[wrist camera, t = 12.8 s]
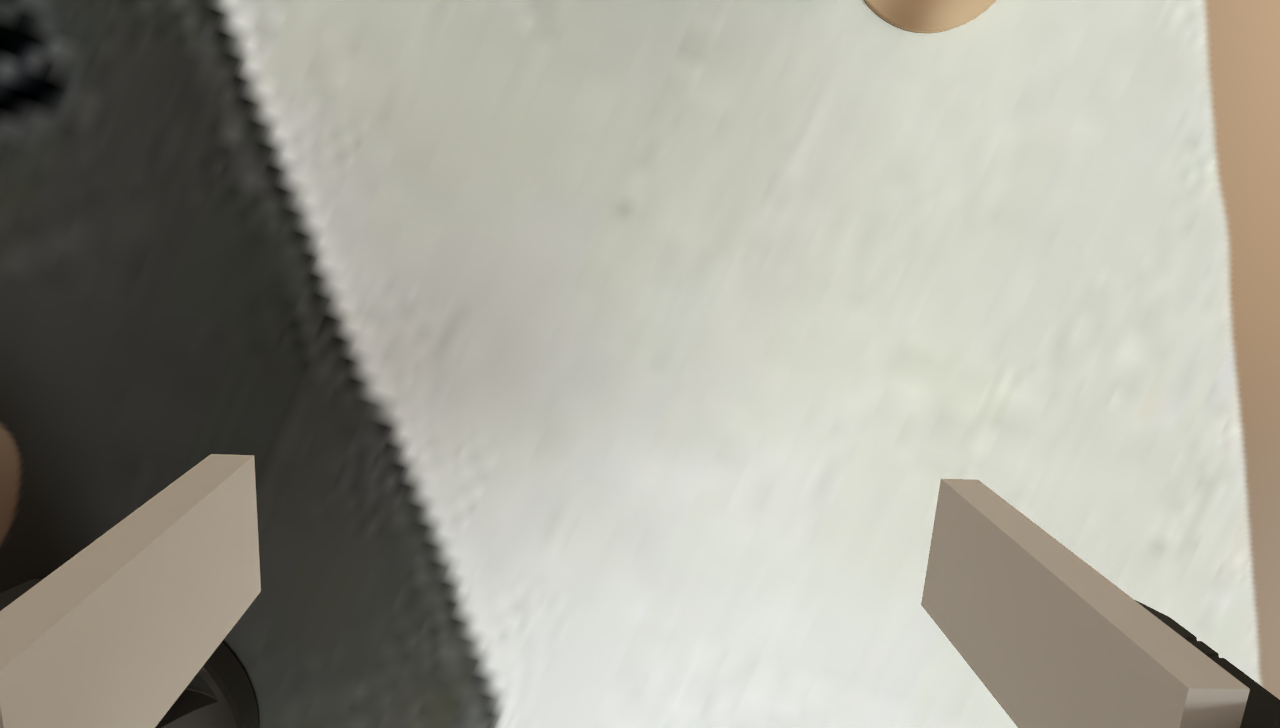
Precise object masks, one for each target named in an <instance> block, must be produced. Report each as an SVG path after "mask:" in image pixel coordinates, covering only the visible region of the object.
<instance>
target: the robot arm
mask: <svg viewBox="0 0 1280 728" xmlns="http://www.w3.org/2000/svg"><path fill="white" fill-rule="evenodd" d="M260 592H261V582H260V562H259V542H258V522H257V502H256V482H255V462H254V455H224V454H210V455H209V456H208V457H206V458H205V459H204V460H202V461H201V462H200V463H198V464H197V465H196V466H194V467H193V468H192V469H190V470H189V471H188V472H186V473H185V474H184V475H182V476H181V477H180V478H178V479H177V480H176V481H174V482H173V483H171V484H170V485H169V486H167V487H166V488H165V489H163V490H162V491H161V492H159V493H158V494H157V495H155V496H154V497H153V498H151V499H150V500H149V501H147V502H146V503H145V504H143V505H142V506H141V507H139V508H138V509H137V510H135V511H134V512H133V513H131V514H130V515H129V516H127V517H126V518H125V519H123V520H122V521H121V522H119V523H118V524H117V525H115V526H114V527H113V528H111V529H110V530H108V531H107V532H106V533H104V534H103V535H102V536H100V537H99V538H98V539H96V540H95V541H94V542H92V543H91V544H90V545H88V546H87V547H86V548H84V549H83V550H82V551H80V552H79V553H78V554H76V555H75V556H74V557H72V558H71V559H70V560H68V561H67V562H66V563H64V564H63V565H62V566H60V567H59V568H58V569H56V570H55V571H54V572H52V573H51V574H49V575H48V576H47V577H45V578H44V579H32V580H29V581H27V582H25V583H23V584H20V585H18V586H16V587H13V588H11V589H9V590H7V591H4V592H2V593H0V728H259V718H258V709H257V703H256V699H255V695H254V692H253V689H252V686H251V684H250V682H249V679H248V677H247V675H246V673H245V671H244V670H243V668H242V666H241V665H240V663H239V662H238V660H237V659H236V657H235V656H234V655H233V654H232V652H231V651H230V650H229V649H228V647H227V646H226V645H225V644H224V643H223V642H222V641H223V640H224V638H225V637H226V636H227V634H228V633H229V632H230V631H231V629H232V628H233V627H234V625H235V624H236V623H237V621H238V620H239V619H240V618H241V616H242V615H243V614H244V612H245V611H246V610H247V609H248V607H249V606H250V605H251V603H252V602H253V601H254V600H255V598H256V597H257V596H258V594H259V593H260ZM921 605H922V606H923V608H924V609H925V610H926V611H927V613H928V614H929V615H930V616H931V618H932V619H933V620H934V621H935V623H936V624H937V625H938V627H939V628H940V629H941V630H942V632H943V633H944V634H945V635H946V637H947V638H948V639H949V641H950V642H951V643H952V644H953V646H954V647H955V648H956V649H957V651H958V652H959V653H960V654H961V656H962V657H963V658H964V660H965V661H966V662H967V663H968V665H969V666H970V667H971V668H972V670H973V671H974V672H975V673H976V675H977V676H978V677H979V679H980V680H981V681H982V682H983V684H984V685H985V686H986V687H987V689H988V690H989V691H990V693H991V694H992V695H993V696H994V698H995V699H996V700H997V701H998V703H999V704H1000V705H1001V706H1002V708H1003V709H1004V710H1005V712H1006V713H1007V714H1008V715H1009V717H1010V718H1011V719H1012V720H1013V722H1014V723H1015V724H1016V725H1017V727H1018V728H1280V700H1279V699H1278V698H1276V697H1275V696H1274V695H1272V694H1271V693H1270V692H1268V691H1267V690H1266V689H1264V688H1263V687H1262V686H1260V685H1259V684H1258V683H1256V682H1255V681H1254V680H1252V679H1251V678H1250V677H1248V676H1247V675H1246V674H1244V673H1243V672H1242V671H1240V670H1239V669H1238V668H1236V667H1235V666H1234V665H1232V664H1231V663H1230V662H1228V661H1227V660H1226V659H1224V658H1219V656H1218V653H1216V652H1215V651H1214V650H1212V649H1211V648H1210V647H1208V646H1207V645H1206V644H1204V643H1203V642H1202V641H1197V639H1196V637H1195V636H1194V635H1193V634H1191V633H1190V632H1189V631H1187V630H1186V629H1185V628H1183V627H1182V626H1181V625H1179V624H1178V623H1177V622H1175V621H1174V620H1173V619H1171V618H1170V617H1168V616H1166V615H1164V614H1162V613H1160V612H1158V611H1156V610H1154V609H1152V608H1150V607H1148V606H1146V605H1144V604H1142V603H1140V602H1138V601H1136V600H1134V599H1132V598H1131V597H1130V596H1128V595H1127V594H1126V593H1124V592H1123V591H1122V590H1121V589H1119V588H1118V587H1117V586H1115V585H1114V584H1113V583H1111V582H1110V581H1109V580H1108V579H1106V578H1105V577H1104V576H1102V575H1101V574H1100V573H1098V572H1097V571H1096V570H1095V569H1093V568H1092V567H1091V566H1089V565H1088V564H1087V563H1085V562H1084V561H1083V560H1082V559H1080V558H1079V557H1078V556H1076V555H1075V554H1074V553H1072V552H1071V551H1070V550H1069V549H1067V548H1066V547H1065V546H1063V545H1062V544H1061V543H1059V542H1058V541H1057V540H1056V539H1054V538H1053V537H1052V536H1050V535H1049V534H1048V533H1046V532H1045V531H1044V530H1043V529H1041V528H1040V527H1039V526H1037V525H1036V524H1035V523H1033V522H1032V521H1031V520H1030V519H1028V518H1027V517H1026V516H1024V515H1023V514H1022V513H1020V512H1019V511H1018V510H1017V509H1015V508H1014V507H1013V506H1011V505H1010V504H1009V503H1007V502H1006V501H1005V500H1004V499H1002V498H1001V497H1000V496H998V495H997V494H996V493H994V492H993V491H992V490H991V489H989V488H988V487H987V486H985V485H984V484H983V483H981V482H980V481H979V480H963V479H941V482H940V489H939V495H938V501H937V508H936V514H935V521H934V527H933V533H932V540H931V546H930V553H929V559H928V565H927V572H926V578H925V585H924V591H923V597H922V604H921Z"/></svg>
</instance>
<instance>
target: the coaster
mask: <svg viewBox="0 0 1280 728" xmlns="http://www.w3.org/2000/svg"><path fill="white" fill-rule="evenodd" d="M864 1H865V2H866V4H867V5H868V6H869V8H870V9H871V10H873V11H874V12H875V13H876V14H877V15H878V16H879V17H880V18H882V19H883V20H884V21H886V22H888V23H889V24H891V25H893V26H895V27H898V28H900V29H903V30H906V31H911V32H916V33H935V32H941V31H946V30H950V29H952V28H955V27H958V26H960V25H963V24H965V23H967V22H969V21H971V20H973V19H974V18H976V17H977V16H979V15H980V14H982V13H983V12H985V11H986V10H987V9H988V8H989V7H990V6H991V5H992V4H993V3H994V2H995V1H996V0H864Z"/></svg>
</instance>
